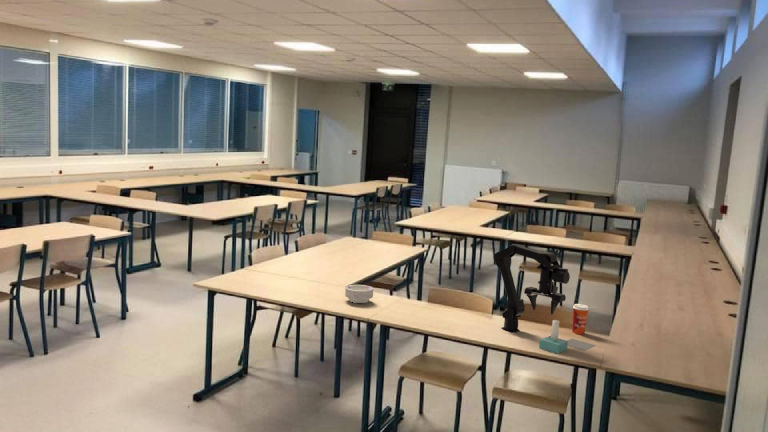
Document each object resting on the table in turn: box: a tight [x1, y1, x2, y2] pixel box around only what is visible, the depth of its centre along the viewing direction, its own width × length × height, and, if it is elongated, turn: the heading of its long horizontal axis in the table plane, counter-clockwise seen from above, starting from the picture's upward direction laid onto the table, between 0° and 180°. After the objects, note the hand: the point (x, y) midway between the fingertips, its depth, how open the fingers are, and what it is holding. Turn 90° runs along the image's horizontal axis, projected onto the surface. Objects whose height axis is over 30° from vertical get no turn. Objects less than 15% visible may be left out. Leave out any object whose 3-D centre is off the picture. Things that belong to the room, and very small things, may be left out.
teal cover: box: [539, 319, 569, 355], centre depth 276 cm, size 9×9×13 cm
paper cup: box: [571, 303, 590, 336], centre depth 303 cm, size 8×8×14 cm
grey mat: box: [566, 338, 597, 351], centre depth 285 cm, size 12×12×1 cm
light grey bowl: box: [344, 284, 374, 304], centre depth 335 cm, size 15×15×8 cm
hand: (542, 312), depth 288 cm, fingers open, 9 cm apart
